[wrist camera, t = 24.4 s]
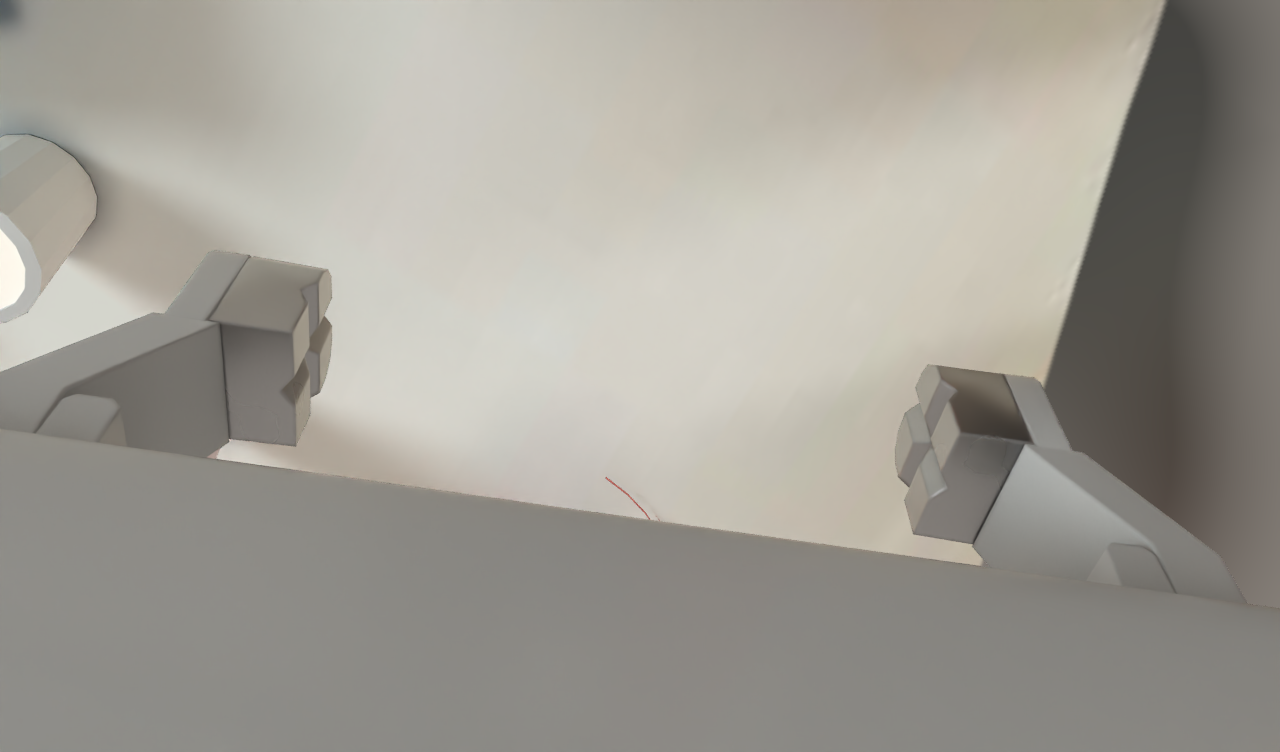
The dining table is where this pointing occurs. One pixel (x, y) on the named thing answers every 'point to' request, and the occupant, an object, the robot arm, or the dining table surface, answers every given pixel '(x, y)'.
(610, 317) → the dining table surface
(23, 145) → the shot glass
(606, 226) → the dining table surface
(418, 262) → the dining table surface
